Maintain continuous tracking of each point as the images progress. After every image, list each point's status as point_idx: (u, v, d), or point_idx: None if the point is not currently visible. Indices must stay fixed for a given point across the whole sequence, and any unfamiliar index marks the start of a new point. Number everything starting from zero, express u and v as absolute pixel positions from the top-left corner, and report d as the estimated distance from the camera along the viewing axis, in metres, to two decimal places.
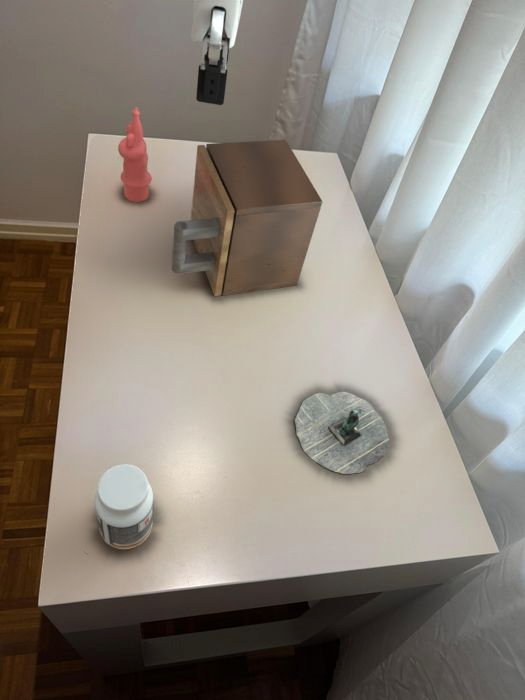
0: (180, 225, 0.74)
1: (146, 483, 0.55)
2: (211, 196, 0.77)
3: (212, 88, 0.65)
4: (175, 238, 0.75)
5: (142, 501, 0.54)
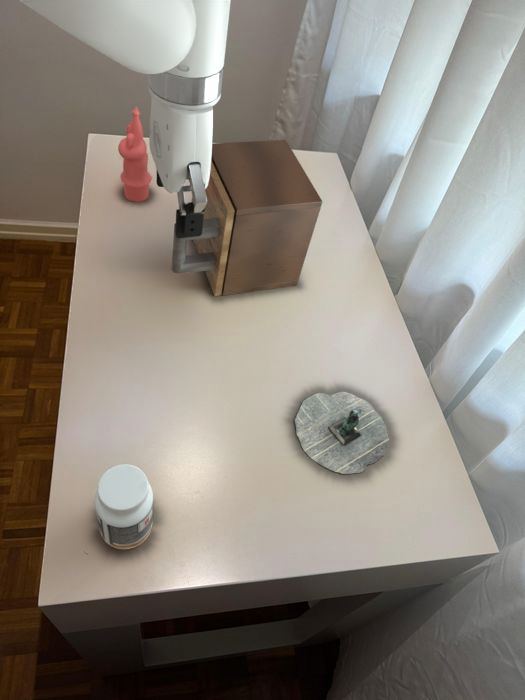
0: None
1: (146, 483, 0.55)
2: (211, 196, 0.77)
3: (192, 226, 0.67)
4: (175, 238, 0.75)
5: (142, 501, 0.54)
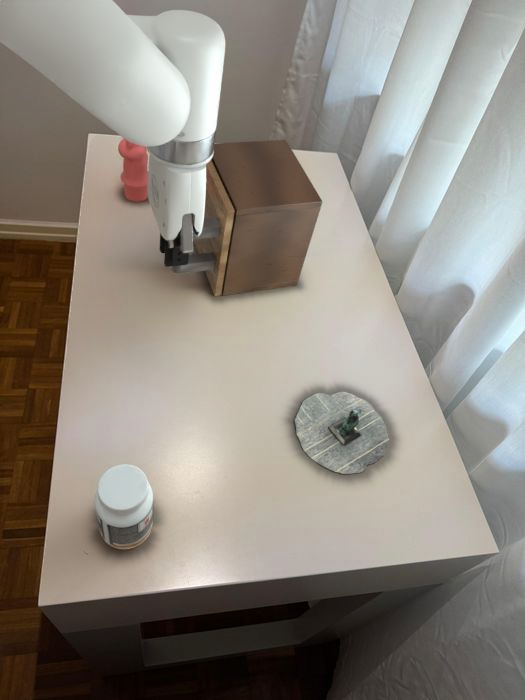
0: None
1: (146, 483, 0.54)
2: (211, 196, 0.77)
3: (179, 257, 0.75)
4: None
5: (142, 501, 0.54)
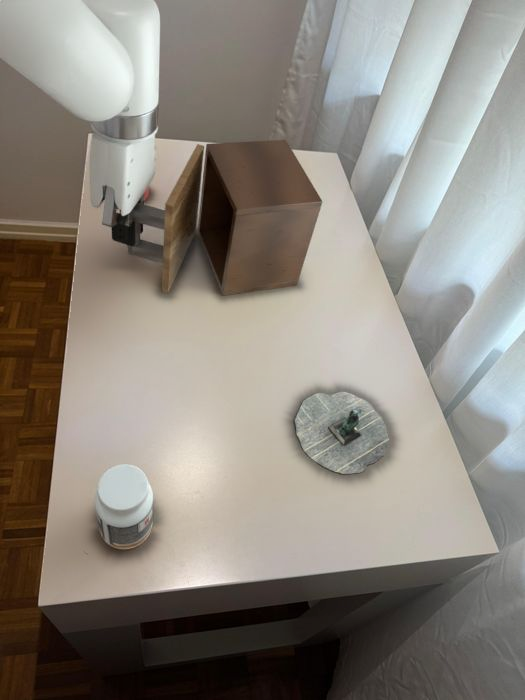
0: None
1: (146, 483, 0.55)
2: None
3: (121, 234, 0.76)
4: None
5: (142, 501, 0.54)
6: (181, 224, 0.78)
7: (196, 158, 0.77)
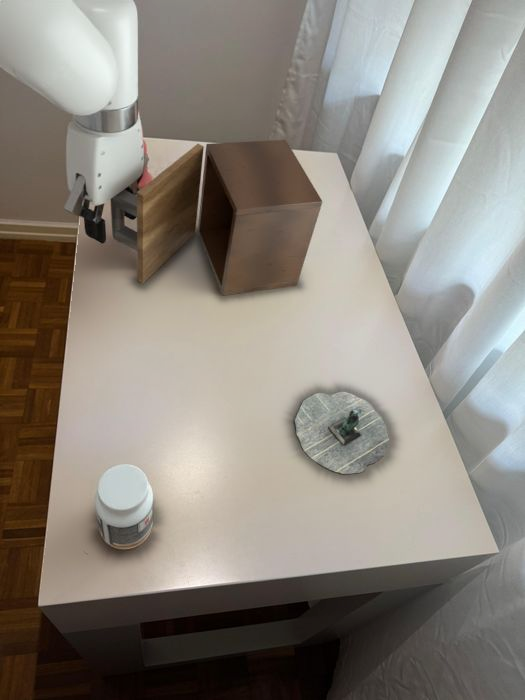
0: None
1: (146, 483, 0.55)
2: None
3: (90, 230, 0.77)
4: (110, 200, 0.78)
5: (142, 501, 0.54)
6: (163, 218, 0.79)
7: (189, 156, 0.77)
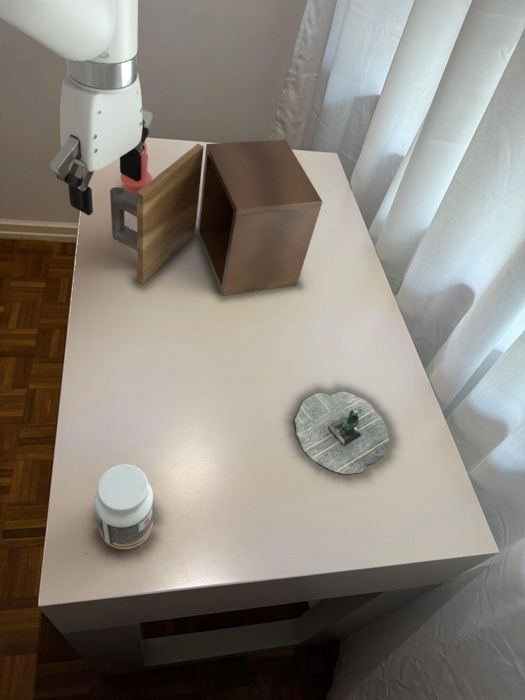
0: (116, 190, 0.76)
1: (146, 483, 0.55)
2: None
3: (76, 199, 0.71)
4: (110, 200, 0.78)
5: (142, 501, 0.54)
6: (163, 218, 0.79)
7: (189, 156, 0.77)
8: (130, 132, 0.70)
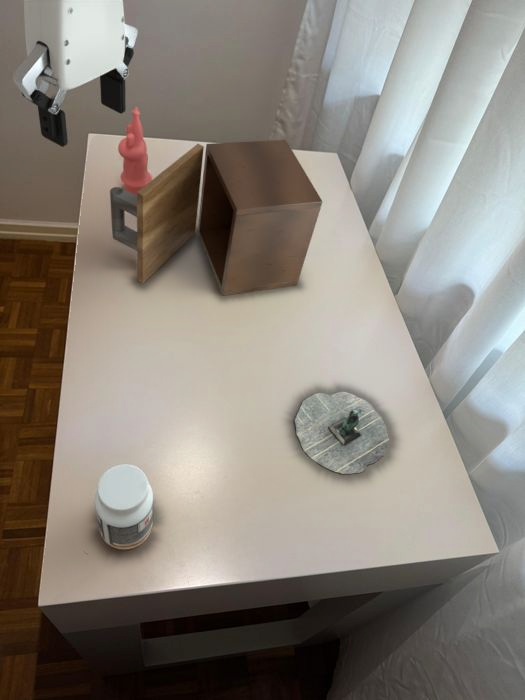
0: (116, 190, 0.76)
1: (146, 483, 0.55)
2: None
3: (47, 126, 0.60)
4: (110, 200, 0.78)
5: (142, 501, 0.54)
6: (163, 218, 0.79)
7: (189, 156, 0.77)
8: (110, 45, 0.59)
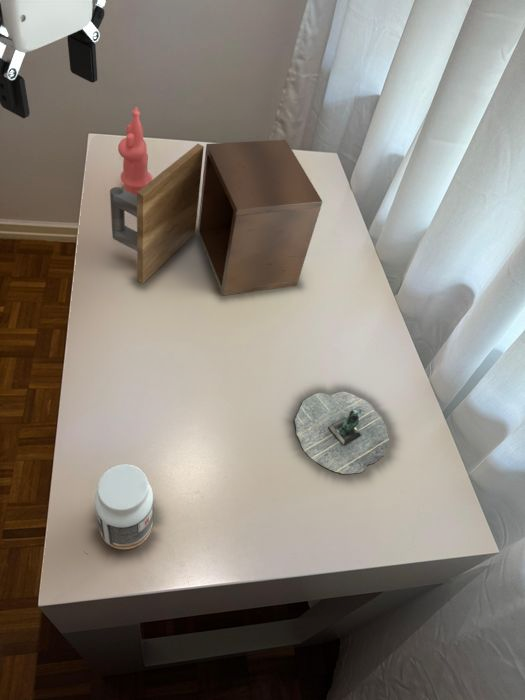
0: (116, 190, 0.76)
1: (146, 483, 0.55)
2: None
3: (4, 94, 0.54)
4: (110, 200, 0.78)
5: (142, 501, 0.54)
6: (163, 218, 0.79)
7: (189, 156, 0.77)
8: (74, 1, 0.52)
